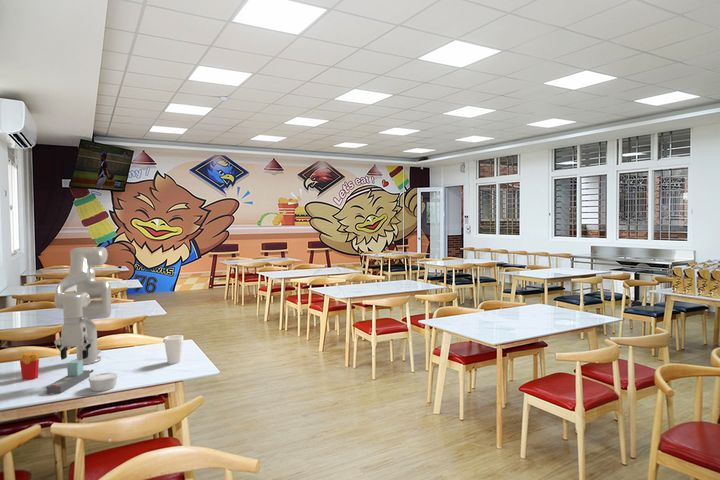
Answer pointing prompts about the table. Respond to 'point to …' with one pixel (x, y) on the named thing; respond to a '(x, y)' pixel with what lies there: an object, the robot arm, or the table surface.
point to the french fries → (29, 365)
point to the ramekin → (103, 381)
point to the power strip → (67, 382)
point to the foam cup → (173, 348)
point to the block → (75, 367)
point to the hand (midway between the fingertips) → (74, 358)
